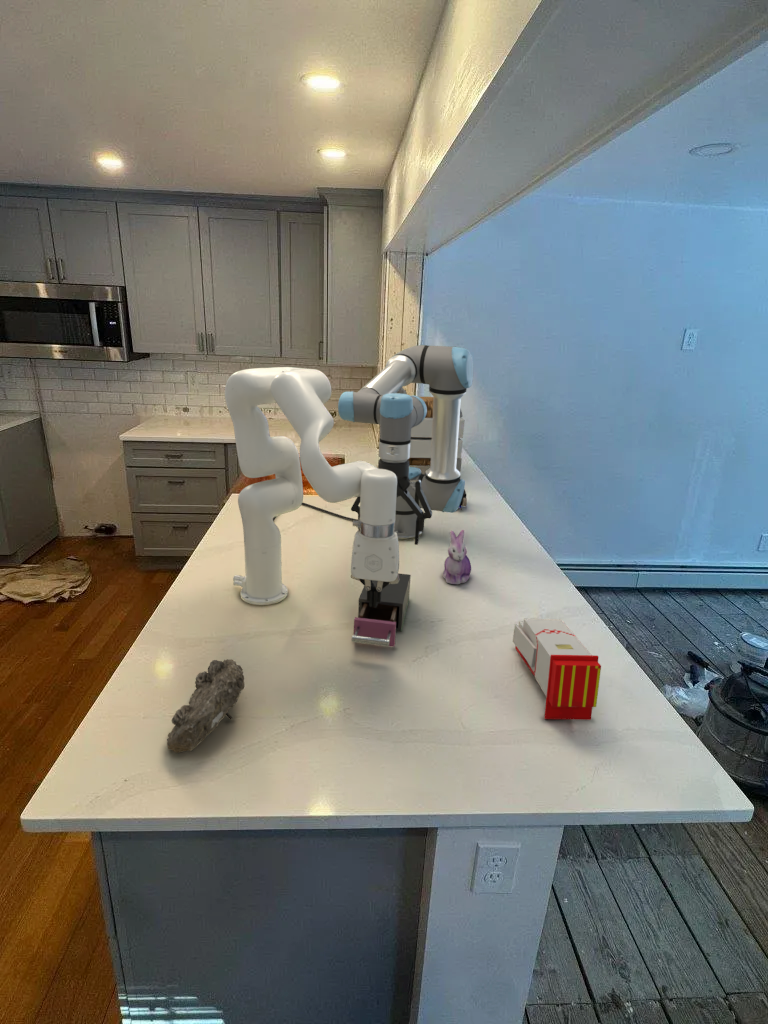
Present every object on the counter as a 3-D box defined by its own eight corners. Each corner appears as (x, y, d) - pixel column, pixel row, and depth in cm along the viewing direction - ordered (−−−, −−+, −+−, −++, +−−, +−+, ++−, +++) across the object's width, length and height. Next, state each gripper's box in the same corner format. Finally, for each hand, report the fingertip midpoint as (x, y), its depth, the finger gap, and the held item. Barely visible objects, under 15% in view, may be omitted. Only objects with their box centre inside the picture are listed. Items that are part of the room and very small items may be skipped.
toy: (557, 603, 136) (610, 662, 107) (552, 655, 139) (602, 726, 109) (507, 602, 136) (546, 661, 106) (503, 654, 138) (540, 725, 109)
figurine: (453, 588, 162) (457, 540, 157) (434, 573, 170) (437, 527, 165) (479, 582, 166) (485, 535, 161) (459, 568, 175) (464, 523, 170)
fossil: (192, 660, 117) (244, 628, 112) (224, 691, 120) (276, 661, 115) (142, 746, 98) (202, 712, 93) (182, 779, 101) (242, 748, 96)
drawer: (390, 660, 126) (392, 637, 124) (348, 655, 128) (348, 632, 126) (402, 614, 146) (403, 593, 144) (365, 610, 147) (366, 589, 145)
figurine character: (467, 515, 225) (461, 499, 238) (469, 498, 221) (463, 482, 235) (450, 514, 224) (445, 498, 238) (452, 497, 221) (447, 482, 234)
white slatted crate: (382, 463, 289) (386, 382, 275) (445, 464, 293) (451, 384, 279) (390, 482, 257) (394, 392, 243) (460, 483, 261) (468, 394, 247)
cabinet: (401, 631, 139) (403, 603, 137) (357, 626, 141) (358, 598, 138) (409, 600, 155) (410, 574, 152) (369, 595, 156) (370, 570, 153)
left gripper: (338, 530, 118) (337, 608, 124) (410, 537, 116) (405, 616, 122) (346, 518, 125) (344, 592, 131) (414, 524, 123) (409, 600, 129)
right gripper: (340, 458, 135) (338, 540, 143) (444, 467, 132) (438, 550, 139) (346, 451, 142) (345, 529, 150) (446, 459, 139) (440, 539, 146)
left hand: (373, 604), depth 126 cm, fingers closed
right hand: (390, 540), depth 144 cm, fingers open, 13 cm apart
